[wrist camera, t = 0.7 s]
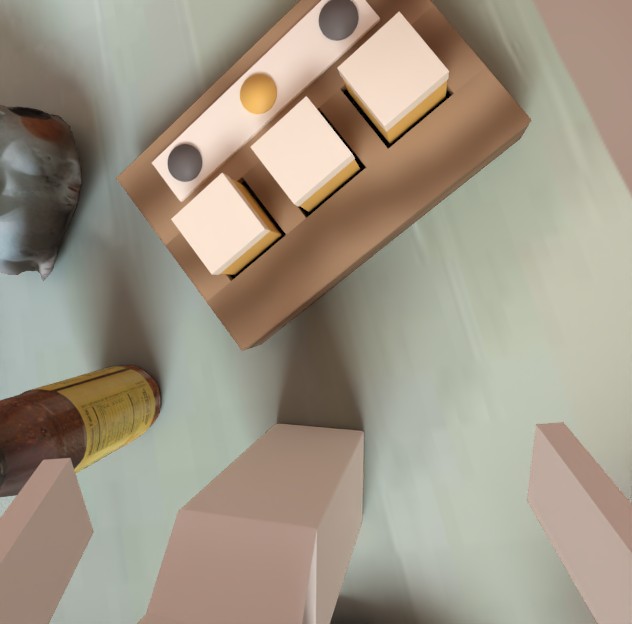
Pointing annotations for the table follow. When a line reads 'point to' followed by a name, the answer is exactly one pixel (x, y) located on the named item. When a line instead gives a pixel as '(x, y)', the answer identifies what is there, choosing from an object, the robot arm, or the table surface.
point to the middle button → (305, 156)
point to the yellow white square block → (395, 77)
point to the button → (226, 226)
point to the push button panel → (264, 92)
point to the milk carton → (267, 534)
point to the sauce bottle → (74, 421)
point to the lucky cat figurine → (35, 188)
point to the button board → (351, 200)
